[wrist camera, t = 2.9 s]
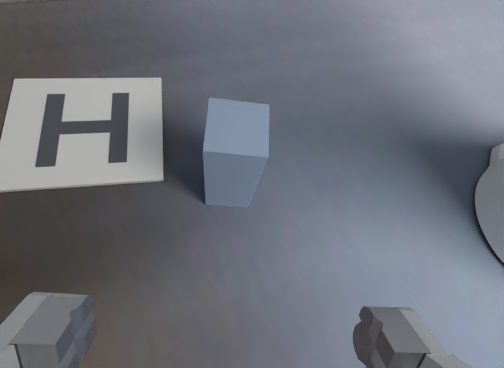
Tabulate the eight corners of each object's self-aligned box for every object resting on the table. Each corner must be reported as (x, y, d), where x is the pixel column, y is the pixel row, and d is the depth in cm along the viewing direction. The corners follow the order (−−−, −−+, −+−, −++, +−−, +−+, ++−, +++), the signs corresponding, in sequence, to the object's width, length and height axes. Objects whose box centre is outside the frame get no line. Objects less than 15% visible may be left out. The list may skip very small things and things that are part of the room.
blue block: (250, 169, 28) (269, 104, 19) (248, 207, 26) (268, 157, 17) (209, 165, 27) (209, 97, 18) (205, 204, 26) (202, 150, 17)
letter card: (161, 80, 31) (161, 77, 30) (163, 181, 26) (162, 179, 26) (17, 81, 28) (14, 78, 28) (-8, 193, 24) (-12, 191, 23)
